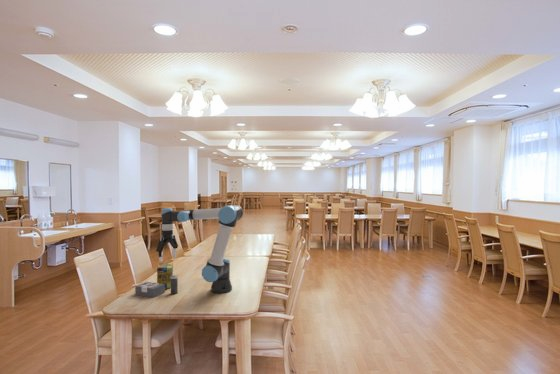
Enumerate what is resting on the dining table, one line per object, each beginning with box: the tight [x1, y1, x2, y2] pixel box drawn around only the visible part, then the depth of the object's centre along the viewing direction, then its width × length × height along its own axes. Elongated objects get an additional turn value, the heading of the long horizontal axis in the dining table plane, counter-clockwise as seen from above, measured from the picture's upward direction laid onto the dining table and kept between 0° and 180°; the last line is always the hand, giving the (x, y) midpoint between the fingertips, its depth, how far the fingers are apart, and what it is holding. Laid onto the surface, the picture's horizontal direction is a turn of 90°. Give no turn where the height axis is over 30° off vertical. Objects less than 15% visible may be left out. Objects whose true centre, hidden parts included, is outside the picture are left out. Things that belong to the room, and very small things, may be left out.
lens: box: [170, 274, 179, 295], centre depth 231 cm, size 5×5×12 cm
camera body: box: [134, 280, 166, 299], centre depth 230 cm, size 16×12×7 cm
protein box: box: [156, 262, 174, 289], centre depth 249 cm, size 10×15×16 cm
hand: (167, 259), depth 236 cm, fingers open, 13 cm apart
